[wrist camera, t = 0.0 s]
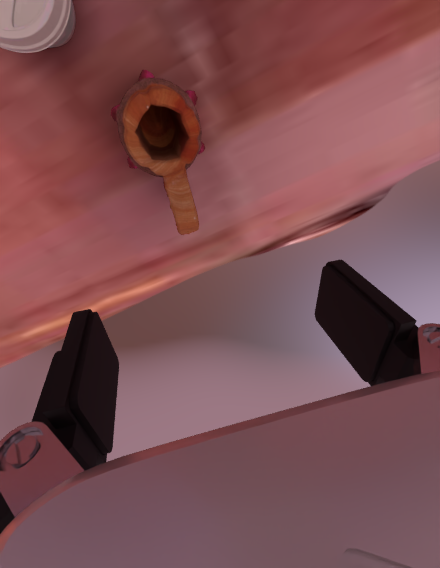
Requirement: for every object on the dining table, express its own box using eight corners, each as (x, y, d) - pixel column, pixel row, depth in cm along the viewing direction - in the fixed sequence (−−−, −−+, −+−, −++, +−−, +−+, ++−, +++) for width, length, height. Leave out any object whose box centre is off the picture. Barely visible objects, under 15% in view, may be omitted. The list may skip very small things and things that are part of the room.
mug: (107, 82, 30) (86, 74, 18) (179, 68, 31) (202, 51, 19) (149, 207, 39) (153, 258, 27) (204, 194, 40) (231, 237, 28)
